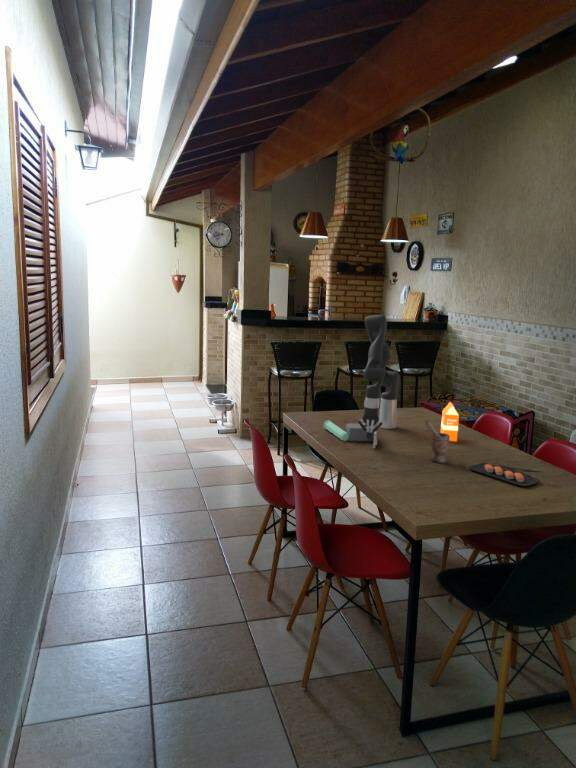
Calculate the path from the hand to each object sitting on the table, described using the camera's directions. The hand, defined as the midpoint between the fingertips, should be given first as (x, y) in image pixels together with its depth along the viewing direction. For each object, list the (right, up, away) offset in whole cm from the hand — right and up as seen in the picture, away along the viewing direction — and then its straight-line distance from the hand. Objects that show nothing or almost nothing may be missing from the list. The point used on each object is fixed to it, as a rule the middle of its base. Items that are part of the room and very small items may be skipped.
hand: (369, 439), depth 294 cm
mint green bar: (-15, 0, +21) cm, 26 cm away
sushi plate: (+61, -13, -32) cm, 70 cm away
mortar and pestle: (+29, -9, -18) cm, 36 cm away
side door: (+4, -3, +4) cm, 7 cm away
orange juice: (+47, -2, +22) cm, 52 cm away
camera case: (-3, -1, +16) cm, 16 cm away
